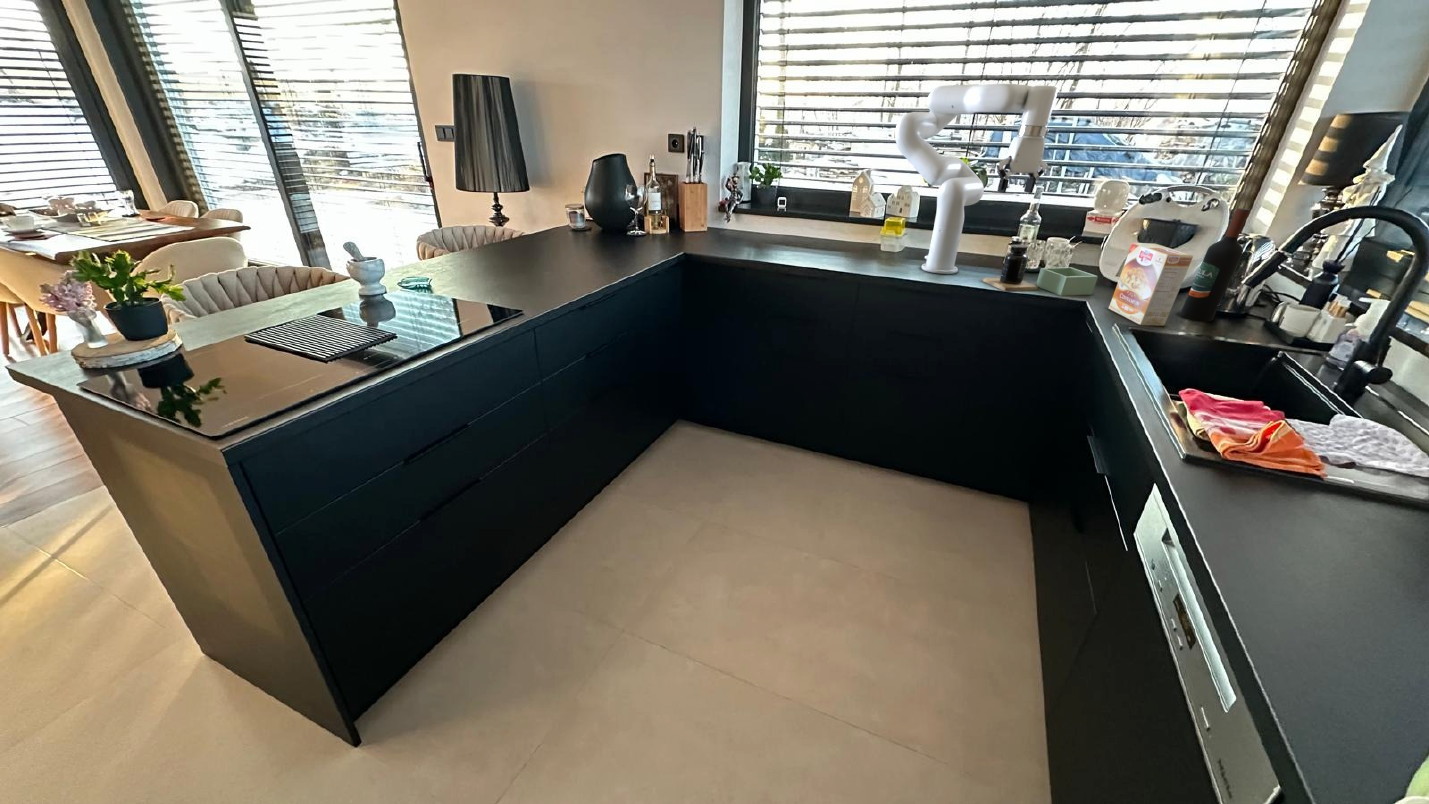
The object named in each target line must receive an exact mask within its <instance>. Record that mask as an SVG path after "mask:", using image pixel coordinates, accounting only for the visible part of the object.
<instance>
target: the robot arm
mask: <svg viewBox="0 0 1429 804" xmlns="http://www.w3.org/2000/svg"><path fill="white" fill-rule="evenodd" d="M1057 96H1058V88H1057V87H1056V86H1054V85H1033V86H1032V85H1027V84H1018V83H989V84H987V83H986V84H978V83H973V84H953V85H952V84H949V85H940V86H937V87H935V88H933V89H932V90H931V91H930V93H929V94H928V95H927V99H926V105H927V108H928V110H929V111H928V112H927V111H912V112H908V113H905V114H903V115H902V116H901V117H899V119H898V121H897V123H896V126H895V129H894V138H895V143H896V146H897V148H898V150H899V152H900V153H901V154H902V155H903V157H904V158H905V159H906V160H907V161H908V162H909V163H910V164H911V165H912V166H913V168H914V169H915V170H916V171H917V172H918V174H919V175H920V176H921V177H922V178H923V179H924V181H925V182H926V183H927V184H929V186H936V187H938V186H939V188H938V191H937V195H936V213H935V218H934V223H933V225H934V226H933V230H932V235H931V239H930V245H929V250H928V254H927V255H925V256H924V259H925V260H926V262H924V263H922V264H921V266H920V268H921V269H922V270H923V271H925V272H928V273H933V274H938V275H939V274H940V275H954V274H956V273H958V271H959V268H958V267H957V266H955V264H956V261H957V260H956V259H957V255H958V250H959V245H960V242H961V237H962V233H963V227H964V222H965V206H966V207H967V206H968V207H969V206H972V205H975V204H976V203H979V202H980V201H981V200H982V198H983V195H984V192H985V187H984V183H983V181H982V180H981V178H979V177H978V175H977V174H976V173H975V172H974V171H973V170H972V169H971V167H970V166H968V164H967V163H966V162H965V161H963V159H961V158H959V157H957V156H953V155H950V156H949V155H947V156H946V155H942V154H940V153H939V151H937V150H936V149H935V148H934V146H933V145H932V144H930V143H929V142H928V141H926V140H925V139H930V138H933V137H935V136H936V135H938V134H939V133H940V132H941V131H942V130H943V129H945V128H946V127H947V126H948V125H949V124H950V123H951V122H952V121H953V120H955V118H956V117H957V116H958V115H973V114H975V113H1012V114H1013V113H1014V114H1020V113H1022V115H1021V118H1020V119H1021V120H1020V122H1019V126H1018V130H1017V134H1016V136H1014V137H1013V138H1012V140H1011V142H1010V144H1009V146H1008V149H1007V152H1006V154H1005V157H1004V159H1002V160H1000V161H999V162H997V163H996V170H997V171H996V173H997V174H998V178H999V182H998V186H997V192H998V193H1002V194H1005V193H1006V192H1007V189H1008V185H1009V181H1010V179H1009V177H1010V176H1011V175H1012V174H1013V173H1014V174H1028V176H1029V178H1027V179H1026V181H1025V186H1024V189H1023V193H1027V194H1033V192H1034V189H1035V185H1036V182H1037V181H1038V180H1039V179H1040V177H1041V176H1042V175H1043V174H1044V172H1045V171H1046V169H1047V168H1048V166H1049V165H1048V163H1046V162H1045V161H1044V160H1043V156H1044V152H1045V146H1046V138H1045V136H1046V134H1048V133H1049V129H1048V126H1049V123H1050V119H1051V116H1052V113H1053V109H1054V106H1055V102H1056V99H1057Z"/></svg>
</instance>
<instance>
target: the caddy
mask: <svg viewBox="0 0 1429 804" xmlns="http://www.w3.org/2000/svg"><path fill="white" fill-rule="evenodd" d="M1098 279H1099V276H1098V275H1095V274H1092V273H1090V272H1086V271H1083V270H1081V269H1078V268H1074V267H1071V266H1070V267H1068V266H1066V267H1041V268H1040V270H1039V273H1038V276H1037V280H1036V283H1035V286H1038V288H1040V289H1043V290H1046V291H1048V292H1050V293H1053V294H1056V295H1057V296H1061V297H1065V296H1091V295H1093V292H1094V291H1095V290H1094V289H1095V287H1096V284H1097V281H1098Z"/></svg>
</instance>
